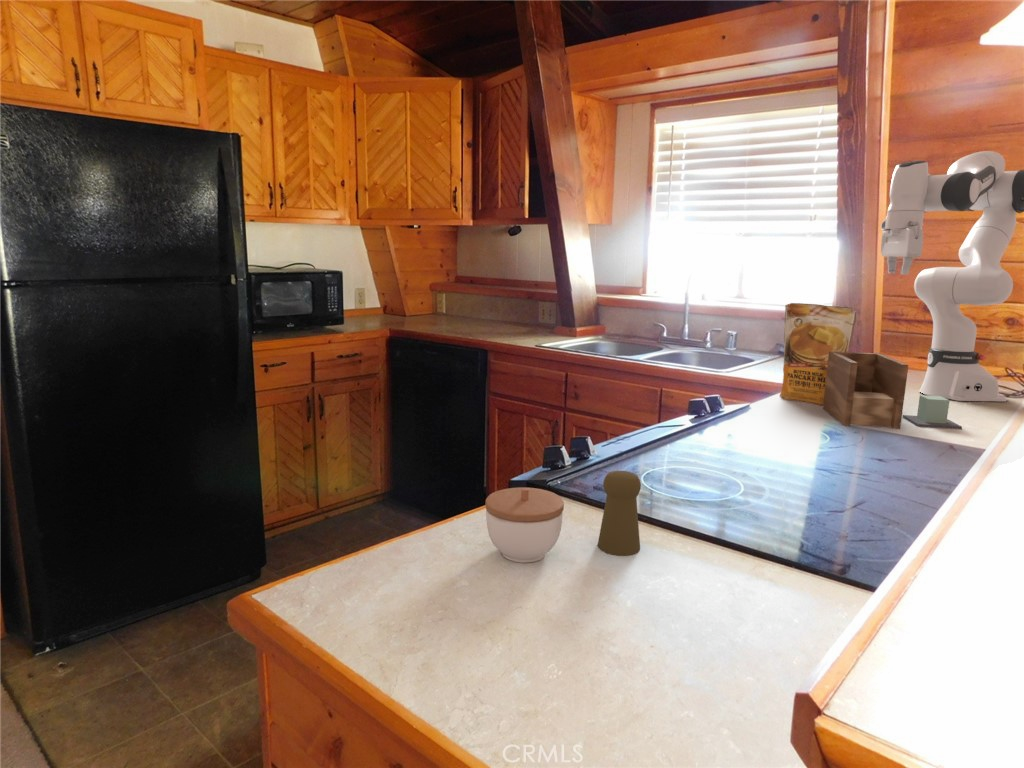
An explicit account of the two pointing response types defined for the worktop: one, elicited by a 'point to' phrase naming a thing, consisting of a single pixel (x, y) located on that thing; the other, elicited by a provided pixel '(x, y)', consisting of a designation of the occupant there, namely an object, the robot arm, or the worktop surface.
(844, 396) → the bin
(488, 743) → the worktop surface
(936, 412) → the block
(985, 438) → the worktop surface
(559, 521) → the lidded jar
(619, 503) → the cork
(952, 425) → the mat
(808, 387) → the pancake mix bag
